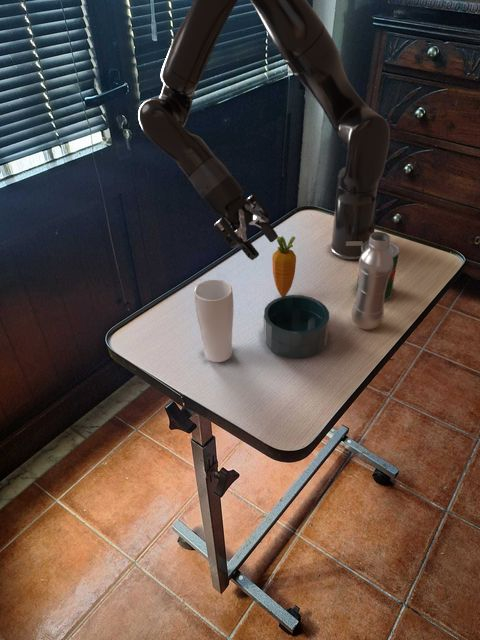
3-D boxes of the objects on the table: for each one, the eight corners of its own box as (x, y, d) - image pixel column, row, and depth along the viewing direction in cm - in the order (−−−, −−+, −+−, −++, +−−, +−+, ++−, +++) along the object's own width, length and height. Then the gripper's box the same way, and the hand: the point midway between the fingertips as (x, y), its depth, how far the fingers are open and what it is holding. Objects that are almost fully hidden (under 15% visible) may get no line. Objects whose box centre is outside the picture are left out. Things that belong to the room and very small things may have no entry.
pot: (302, 311, 110) (304, 288, 106) (339, 344, 102) (342, 319, 98) (252, 331, 105) (251, 307, 101) (286, 366, 97) (287, 342, 93)
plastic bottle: (371, 311, 110) (385, 225, 97) (388, 329, 105) (405, 241, 92) (344, 317, 108) (355, 231, 95) (360, 336, 103) (374, 248, 90)
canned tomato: (398, 296, 114) (407, 252, 107) (369, 305, 111) (376, 261, 104) (376, 278, 120) (384, 236, 112) (348, 287, 117) (354, 244, 110)
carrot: (295, 291, 116) (297, 230, 106) (293, 304, 112) (296, 242, 102) (272, 290, 116) (273, 229, 106) (270, 302, 112) (271, 241, 103)
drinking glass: (204, 369, 96) (197, 303, 87) (197, 346, 101) (190, 282, 92) (239, 362, 98) (237, 297, 88) (231, 340, 103) (227, 276, 93)
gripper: (207, 188, 98) (260, 255, 101) (244, 163, 107) (292, 225, 111) (186, 208, 103) (238, 272, 107) (223, 183, 113) (269, 242, 116)
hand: (265, 248), depth 109 cm, fingers open, 8 cm apart
